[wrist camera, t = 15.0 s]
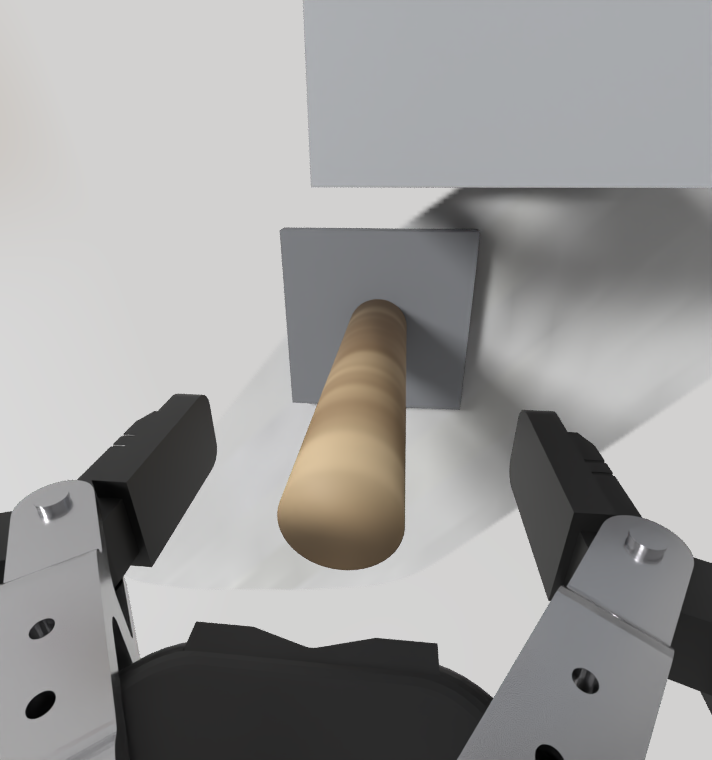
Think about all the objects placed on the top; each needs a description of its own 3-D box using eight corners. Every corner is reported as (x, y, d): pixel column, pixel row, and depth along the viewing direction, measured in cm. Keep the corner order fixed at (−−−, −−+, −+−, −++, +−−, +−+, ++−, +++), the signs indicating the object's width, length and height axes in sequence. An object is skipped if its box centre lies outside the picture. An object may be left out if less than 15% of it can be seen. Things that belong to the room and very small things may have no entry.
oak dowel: (349, 298, 19) (272, 467, 8) (407, 299, 19) (407, 475, 8) (349, 352, 20) (282, 564, 9) (405, 354, 20) (402, 574, 9)
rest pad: (284, 227, 19) (279, 230, 18) (477, 229, 18) (480, 232, 17) (296, 394, 22) (292, 402, 22) (457, 401, 22) (459, 409, 21)
